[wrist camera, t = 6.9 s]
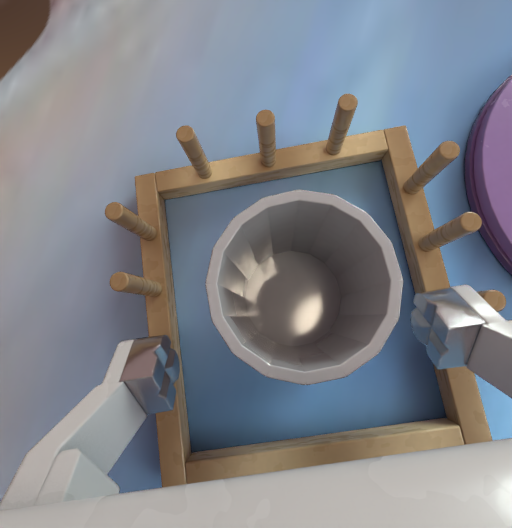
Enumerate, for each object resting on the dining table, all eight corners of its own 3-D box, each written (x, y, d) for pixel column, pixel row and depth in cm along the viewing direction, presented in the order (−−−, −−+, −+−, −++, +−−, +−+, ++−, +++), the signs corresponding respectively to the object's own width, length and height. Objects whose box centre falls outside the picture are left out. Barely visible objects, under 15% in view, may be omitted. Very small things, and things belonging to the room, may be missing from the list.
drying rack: (171, 481, 15) (121, 555, 10) (143, 185, 18) (94, 138, 13) (478, 440, 14) (575, 500, 10) (397, 137, 17) (441, 70, 12)
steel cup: (279, 372, 16) (278, 425, 8) (221, 285, 17) (171, 258, 9) (366, 311, 16) (445, 306, 8) (303, 228, 17) (322, 156, 9)
